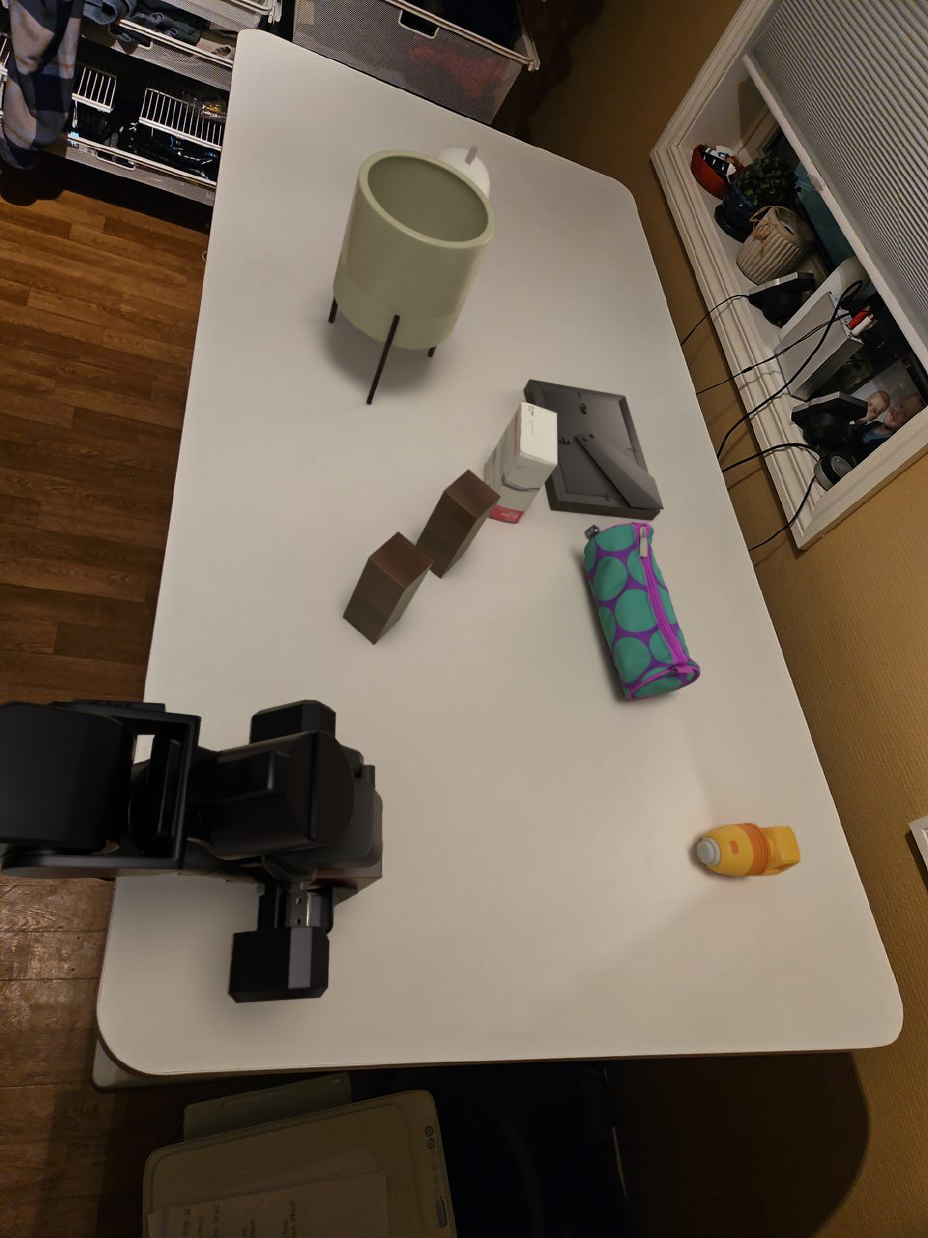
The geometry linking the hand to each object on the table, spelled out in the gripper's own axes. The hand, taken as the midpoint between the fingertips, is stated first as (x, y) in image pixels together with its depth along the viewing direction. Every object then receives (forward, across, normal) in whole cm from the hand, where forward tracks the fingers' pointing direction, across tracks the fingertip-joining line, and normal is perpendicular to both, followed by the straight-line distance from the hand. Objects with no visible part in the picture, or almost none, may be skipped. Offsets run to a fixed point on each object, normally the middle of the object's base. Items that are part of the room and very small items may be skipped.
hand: (353, 858), depth 55 cm
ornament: (+18, +100, -4) cm, 102 cm away
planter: (+11, +65, +4) cm, 66 cm away
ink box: (+22, +46, -7) cm, 52 cm away
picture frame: (+32, +56, -17) cm, 67 cm away
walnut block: (+10, +26, +5) cm, 29 cm away
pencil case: (+32, +29, -17) cm, 47 cm away
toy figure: (+39, +2, -24) cm, 46 cm away
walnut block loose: (+4, 0, +6) cm, 7 cm away
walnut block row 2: (+16, +36, -1) cm, 39 cm away
